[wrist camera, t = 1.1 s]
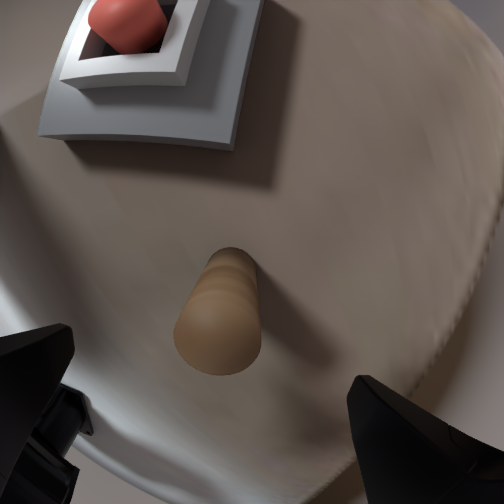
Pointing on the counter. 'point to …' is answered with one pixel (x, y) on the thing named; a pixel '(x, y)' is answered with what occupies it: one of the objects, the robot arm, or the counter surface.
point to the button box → (156, 79)
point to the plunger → (128, 24)
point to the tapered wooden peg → (221, 316)
